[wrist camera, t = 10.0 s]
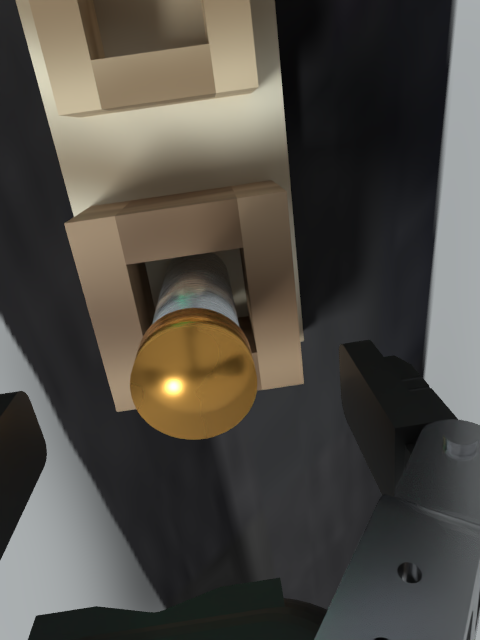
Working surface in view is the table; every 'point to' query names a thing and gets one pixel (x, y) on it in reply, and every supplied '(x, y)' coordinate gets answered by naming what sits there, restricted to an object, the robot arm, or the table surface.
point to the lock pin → (194, 354)
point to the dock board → (172, 163)
